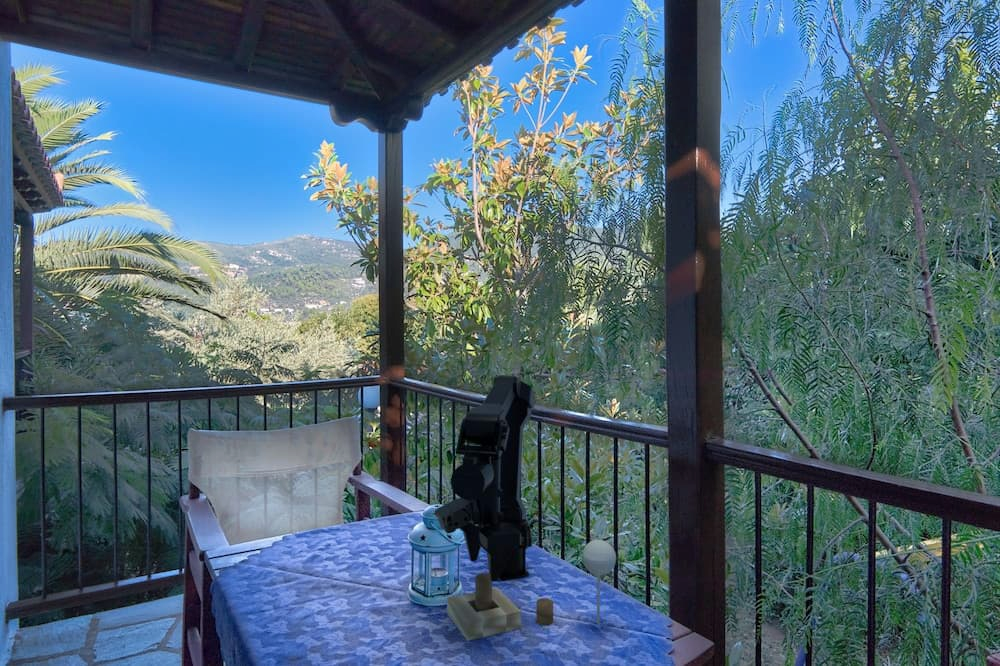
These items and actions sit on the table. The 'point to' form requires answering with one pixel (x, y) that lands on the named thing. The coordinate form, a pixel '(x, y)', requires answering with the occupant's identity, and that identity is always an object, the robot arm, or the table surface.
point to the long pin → (483, 592)
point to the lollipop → (599, 563)
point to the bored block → (483, 615)
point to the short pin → (544, 611)
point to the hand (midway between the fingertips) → (483, 570)
